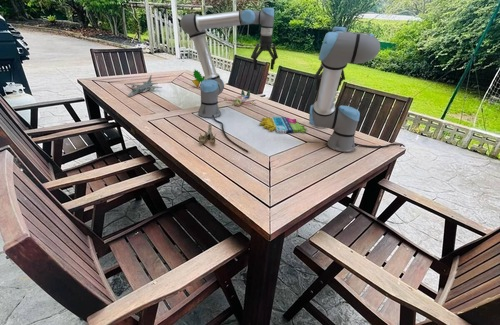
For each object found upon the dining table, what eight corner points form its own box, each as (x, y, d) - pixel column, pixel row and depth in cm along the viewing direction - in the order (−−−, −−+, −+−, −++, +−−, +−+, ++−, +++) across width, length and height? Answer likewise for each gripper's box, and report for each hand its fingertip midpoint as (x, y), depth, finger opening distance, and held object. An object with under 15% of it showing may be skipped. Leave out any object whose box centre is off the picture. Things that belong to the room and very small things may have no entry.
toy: (261, 91, 228) (254, 99, 202) (261, 99, 231) (253, 108, 205) (231, 87, 233) (220, 95, 207) (230, 95, 236) (219, 104, 210)
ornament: (209, 91, 261) (213, 76, 259) (211, 91, 253) (215, 75, 251) (188, 84, 252) (192, 69, 250) (190, 84, 245) (194, 68, 243)
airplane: (122, 86, 237) (119, 75, 232) (157, 84, 250) (156, 74, 245) (126, 99, 209) (123, 86, 204) (166, 96, 222) (165, 84, 217)
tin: (327, 126, 181) (330, 114, 177) (322, 129, 176) (324, 117, 172) (316, 123, 186) (319, 111, 182) (311, 126, 180) (313, 114, 176)
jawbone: (218, 127, 153) (216, 117, 144) (216, 150, 146) (215, 141, 137) (202, 127, 153) (199, 117, 144) (200, 150, 146) (197, 140, 137)
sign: (308, 131, 166) (261, 129, 163) (307, 133, 167) (261, 132, 164) (299, 117, 188) (257, 116, 186) (298, 119, 189) (257, 118, 186)
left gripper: (252, 35, 161) (250, 71, 171) (285, 36, 172) (281, 70, 182) (246, 34, 166) (245, 69, 176) (278, 35, 177) (275, 68, 188)
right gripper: (350, 55, 164) (342, 89, 174) (312, 53, 160) (306, 88, 170) (356, 57, 157) (347, 92, 168) (317, 55, 153) (310, 91, 164)
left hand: (263, 69), depth 179 cm, fingers open, 13 cm apart
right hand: (326, 90), depth 169 cm, fingers open, 13 cm apart
